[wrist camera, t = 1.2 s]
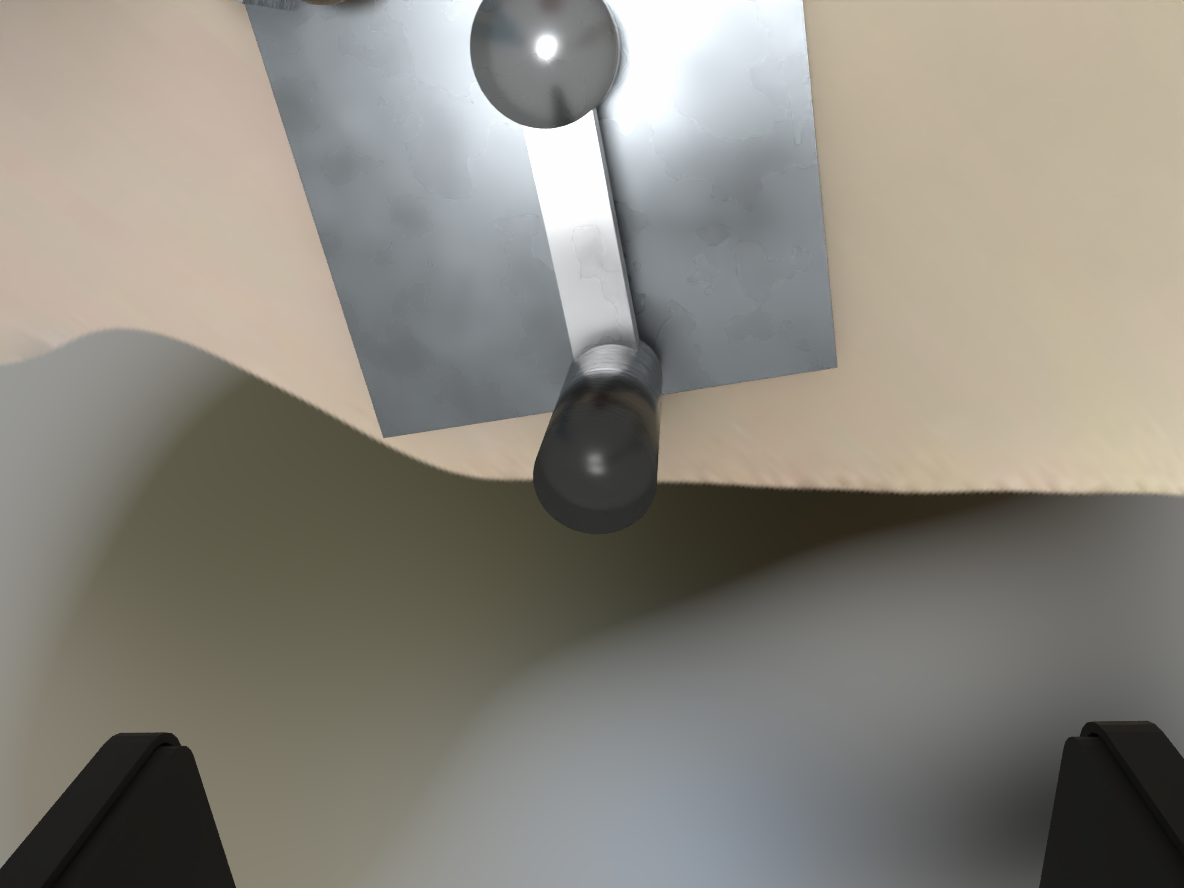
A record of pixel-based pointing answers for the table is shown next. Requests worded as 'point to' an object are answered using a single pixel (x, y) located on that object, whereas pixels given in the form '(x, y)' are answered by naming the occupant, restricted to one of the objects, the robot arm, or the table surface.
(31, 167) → the table surface
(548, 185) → the lever
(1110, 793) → the robot arm
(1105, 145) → the table surface
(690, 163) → the base
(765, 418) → the table surface
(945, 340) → the table surface
